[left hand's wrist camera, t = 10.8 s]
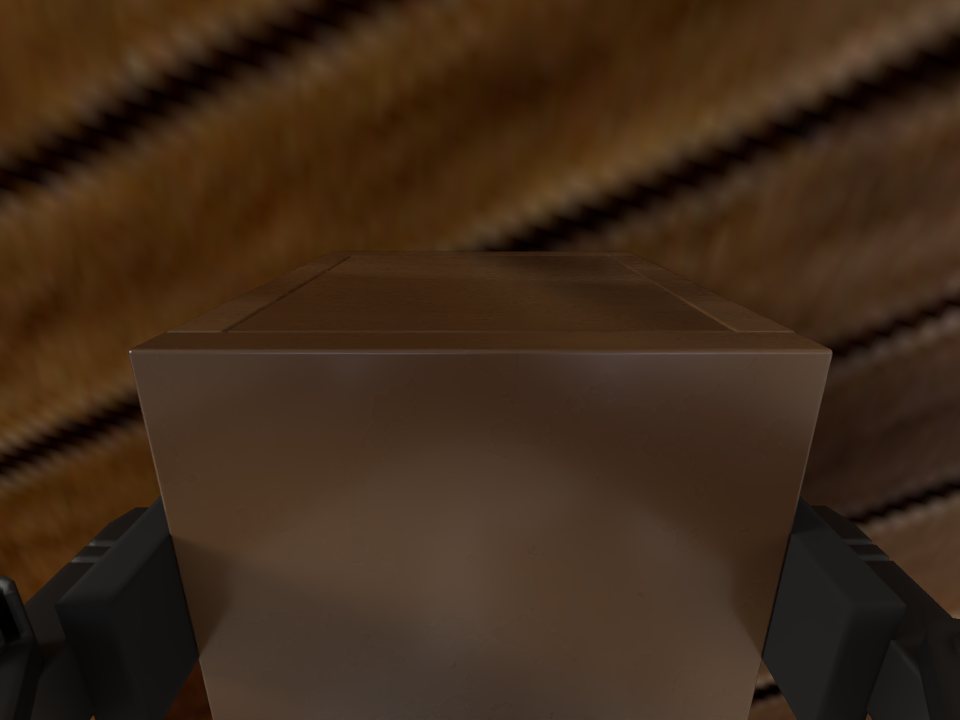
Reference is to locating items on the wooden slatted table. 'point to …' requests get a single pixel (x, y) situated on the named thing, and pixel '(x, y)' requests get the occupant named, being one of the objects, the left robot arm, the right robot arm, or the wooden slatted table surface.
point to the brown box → (480, 487)
